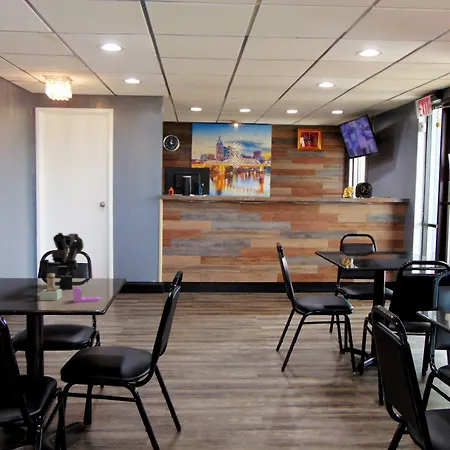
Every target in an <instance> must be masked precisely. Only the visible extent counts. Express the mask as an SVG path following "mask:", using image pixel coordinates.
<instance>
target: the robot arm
mask: <svg viewBox="0 0 450 450" xmlns="http://www.w3.org/2000/svg"><path fill="white" fill-rule="evenodd" d="M53 241H54V243H53V244H54V246H55V248H57V249H56V250H55V249H54V250H52V252H51V258H52V261H49V259H40V260H39V265H40V268H41V270H43V271H45V277H46V279H47V274H50V271H51V270H50V269H51V267H57V268H56V274H57V279H59V283H58V284H59V285H58V286H59V289H62V290H74V288H73V279H75V278H76V271H77V270H78V265H79V264H78V261H77V260H76V258H77V255H78V254H79V253H82V251H83V249H84V242H83V239H82V238H81V237H79V233H69V234H67V235H64V234H63V232H58V234H55V235H54V236H53Z"/></svg>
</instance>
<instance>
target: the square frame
mask: <svg viewBox="0 0 450 450" xmlns="http://www.w3.org/2000/svg"><path fill="white" fill-rule="evenodd" d="M62 296H63V289H60V288H58V289H57V288H55V292H47V288H44V289H43V290H42V291H39V301H58V300H60V299H61V298H62Z"/></svg>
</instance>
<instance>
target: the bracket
mask: <svg viewBox="0 0 450 450" xmlns="http://www.w3.org/2000/svg"><path fill="white" fill-rule="evenodd" d="M72 290H73V291H72V293H73V296H72V297H73V299H72V300H73V301H72V302H73V303H87V302H88V303H90V302H92V303H93V302H100V301H101V297H100V296H82V288H81V287H80V286H78V285H77V286H75V287H74V288H73V289H72Z"/></svg>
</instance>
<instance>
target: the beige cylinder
mask: <svg viewBox="0 0 450 450" xmlns="http://www.w3.org/2000/svg"><path fill="white" fill-rule="evenodd" d="M46 279H47V280H46V282H47V283H46V284H47V286H46V289H47V292H55V289H56V280H55V279H56V273H51V272H50V273H49V274H47V278H46Z"/></svg>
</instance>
